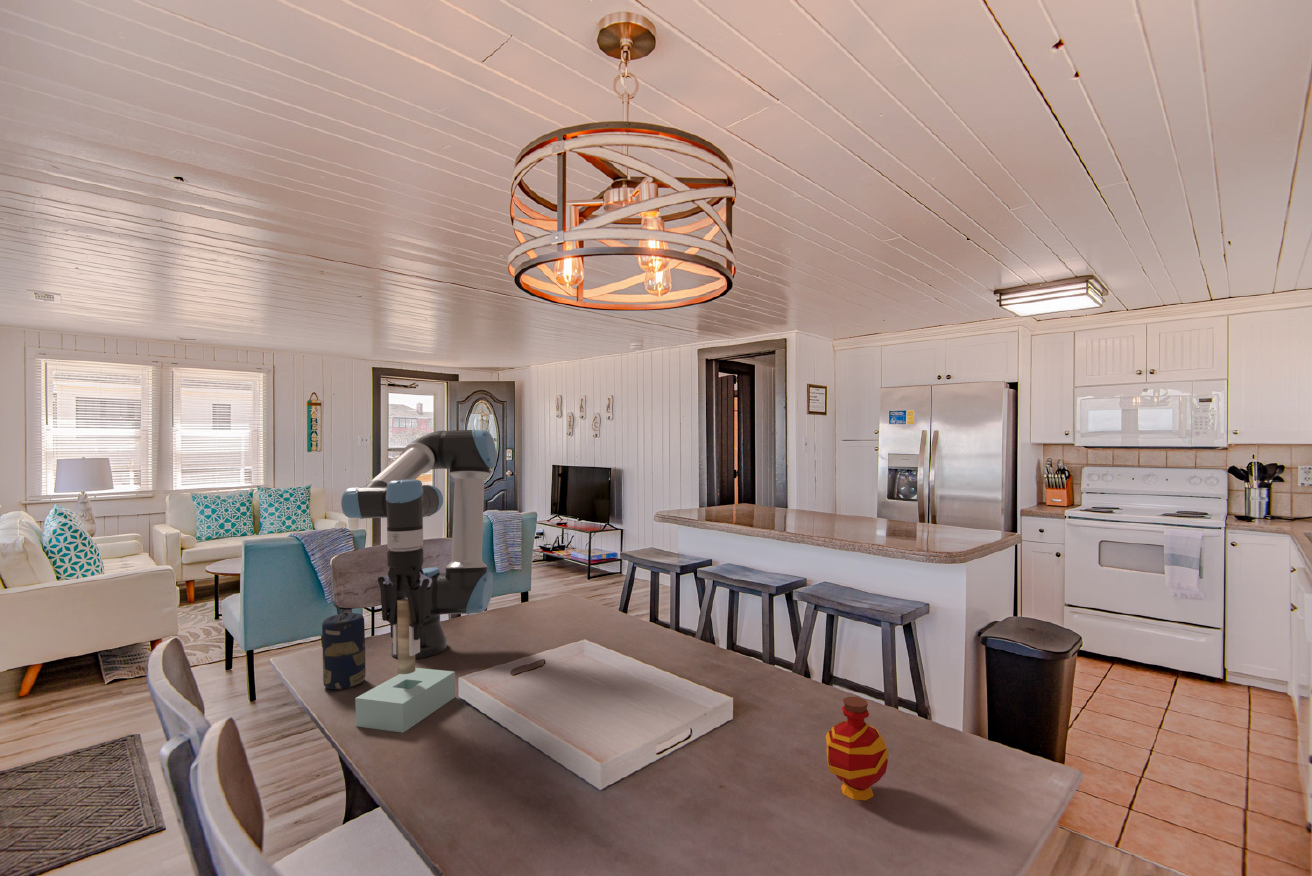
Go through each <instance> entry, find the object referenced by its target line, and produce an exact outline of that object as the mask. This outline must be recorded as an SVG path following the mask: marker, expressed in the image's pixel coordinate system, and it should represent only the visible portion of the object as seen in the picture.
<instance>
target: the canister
mask: <svg viewBox="0 0 1312 876" xmlns="http://www.w3.org/2000/svg"><path fill="white" fill-rule="evenodd" d="M365 627H366V625H365V617H364V616H363V614H361V613H357V612H355V613H354V612H346V611H345V612H342V613H339V614H334V615H331V616H329V617H327V618H325V619H324V620H323V621H322V623H321V629H322V630H321V632H322V634H321V636H322V639H321V640H322V681H323V686H324V687H325V688H326V689H329V690H343V689H349V688H352V687H355V686H357V685H359V684H361V683H362V682H363V681H364V680H365V679H366V676H367V675H366V673H367V672H366V671H367V670H366V638H365V637H366V634H365V630H366V629H365Z"/></svg>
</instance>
